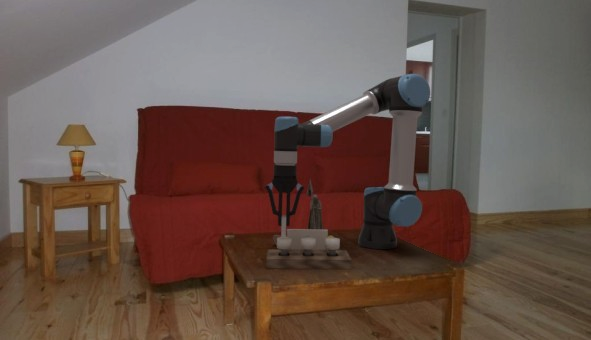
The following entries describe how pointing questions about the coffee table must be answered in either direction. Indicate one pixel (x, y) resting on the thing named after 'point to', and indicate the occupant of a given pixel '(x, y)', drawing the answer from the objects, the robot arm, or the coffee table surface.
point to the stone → (276, 238)
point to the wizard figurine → (314, 210)
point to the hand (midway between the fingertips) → (283, 235)
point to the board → (308, 260)
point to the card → (314, 233)
